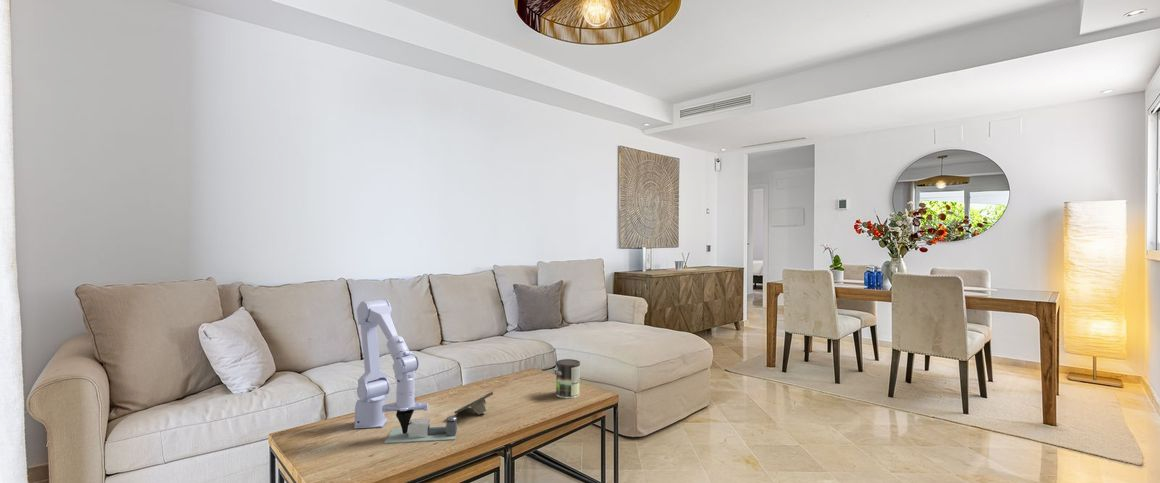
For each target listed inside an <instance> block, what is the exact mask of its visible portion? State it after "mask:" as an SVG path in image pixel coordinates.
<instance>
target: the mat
mask: <svg viewBox="0 0 1160 483" xmlns="http://www.w3.org/2000/svg"><path fill="white" fill-rule="evenodd" d="M430 427H446V425H430ZM458 428H459V424H457V430H458ZM457 432H458V431H457ZM457 432H456V435H455V436H446V434H440V435H428V437H422V438H409V426H408V431H407V433H405V434H403V432H402V427H393V428H392V429H391V431H390V433H389V434H388V436H387V437H386V440H384V444H385V445H388V444H403V443H405V444H406V443H423V442H424V443H425V442H441V441H442V442H443V441H444V442H445V441H455V440H456V437H457V434H458V433H457Z"/></svg>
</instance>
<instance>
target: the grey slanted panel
mask: <svg viewBox="0 0 1160 483" xmlns="http://www.w3.org/2000/svg"><path fill="white" fill-rule="evenodd" d="M493 392H494V391H490V392H488V393H485V395H482V396H480V397H479V398H477V399H475V400H473V401H470V402H469V403H467V404H465V405H463V406H461V407H459V408H458V409H456V410H454V411H451V413H449V414H448V416H449V415H450V416H451V414H453V413H454V414H458V413H460V412H462V411H464V410H465V409H468V408H471V409H472V410H473V411H474V412H475V414H477V415H478V416H479V415H481V414H482V413H485V412H487V411H488V410H490V409H489V406H488V404H487V401H486V399H487V398H490V397H492V396H493V395H494V393H493Z"/></svg>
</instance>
